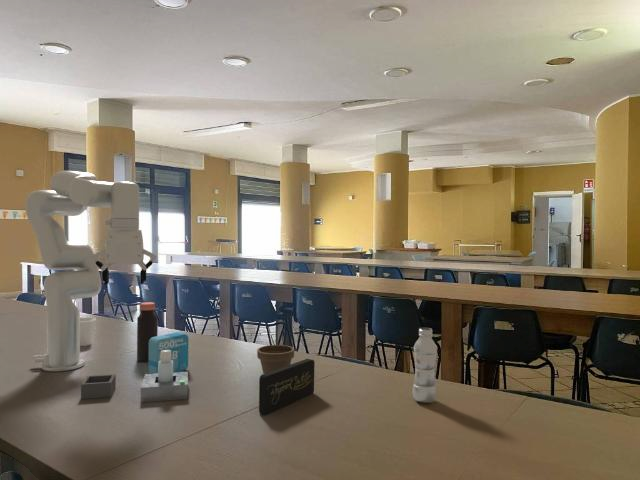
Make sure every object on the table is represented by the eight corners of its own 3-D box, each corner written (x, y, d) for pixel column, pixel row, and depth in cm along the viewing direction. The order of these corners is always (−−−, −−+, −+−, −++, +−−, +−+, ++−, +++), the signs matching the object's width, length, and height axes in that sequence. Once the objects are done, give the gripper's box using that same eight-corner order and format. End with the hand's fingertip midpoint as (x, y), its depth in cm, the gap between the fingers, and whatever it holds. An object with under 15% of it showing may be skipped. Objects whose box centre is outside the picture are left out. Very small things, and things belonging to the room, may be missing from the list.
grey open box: (80, 399, 128) (80, 384, 128) (86, 389, 135) (86, 375, 135) (111, 396, 130) (111, 382, 130) (115, 387, 137) (115, 374, 137)
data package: (156, 378, 146) (156, 339, 146) (148, 375, 149) (148, 337, 149) (188, 369, 156) (188, 333, 156) (180, 367, 159) (180, 331, 158)
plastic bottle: (437, 398, 132) (438, 327, 132) (434, 407, 126) (436, 332, 126) (414, 395, 135) (415, 325, 134) (410, 403, 128) (412, 330, 128)
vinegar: (160, 357, 170) (161, 302, 169) (152, 362, 163) (152, 305, 163) (142, 356, 171) (142, 301, 170) (133, 361, 164) (133, 304, 163)
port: (140, 402, 126) (140, 385, 126) (144, 387, 138) (145, 372, 137) (187, 399, 129) (187, 382, 129) (187, 384, 141) (187, 369, 141)
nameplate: (264, 416, 118) (264, 376, 118) (258, 414, 119) (259, 375, 119) (314, 393, 135) (314, 359, 135) (308, 392, 136) (309, 357, 136)
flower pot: (248, 380, 145) (249, 348, 145) (276, 373, 154) (276, 342, 153) (273, 390, 138) (274, 355, 137) (301, 381, 146) (302, 348, 146)
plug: (157, 396, 131) (157, 353, 131) (158, 391, 135) (158, 349, 134) (172, 395, 132) (173, 352, 132) (173, 390, 136) (173, 348, 135)
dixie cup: (99, 343, 188) (100, 318, 188) (79, 348, 181) (79, 322, 181) (87, 340, 193) (87, 316, 193) (67, 344, 186) (67, 319, 185)
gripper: (89, 224, 131) (89, 285, 131) (155, 225, 135) (155, 285, 136) (95, 224, 138) (94, 282, 139) (157, 225, 143) (156, 282, 143)
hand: (124, 283), depth 137 cm, fingers open, 9 cm apart
